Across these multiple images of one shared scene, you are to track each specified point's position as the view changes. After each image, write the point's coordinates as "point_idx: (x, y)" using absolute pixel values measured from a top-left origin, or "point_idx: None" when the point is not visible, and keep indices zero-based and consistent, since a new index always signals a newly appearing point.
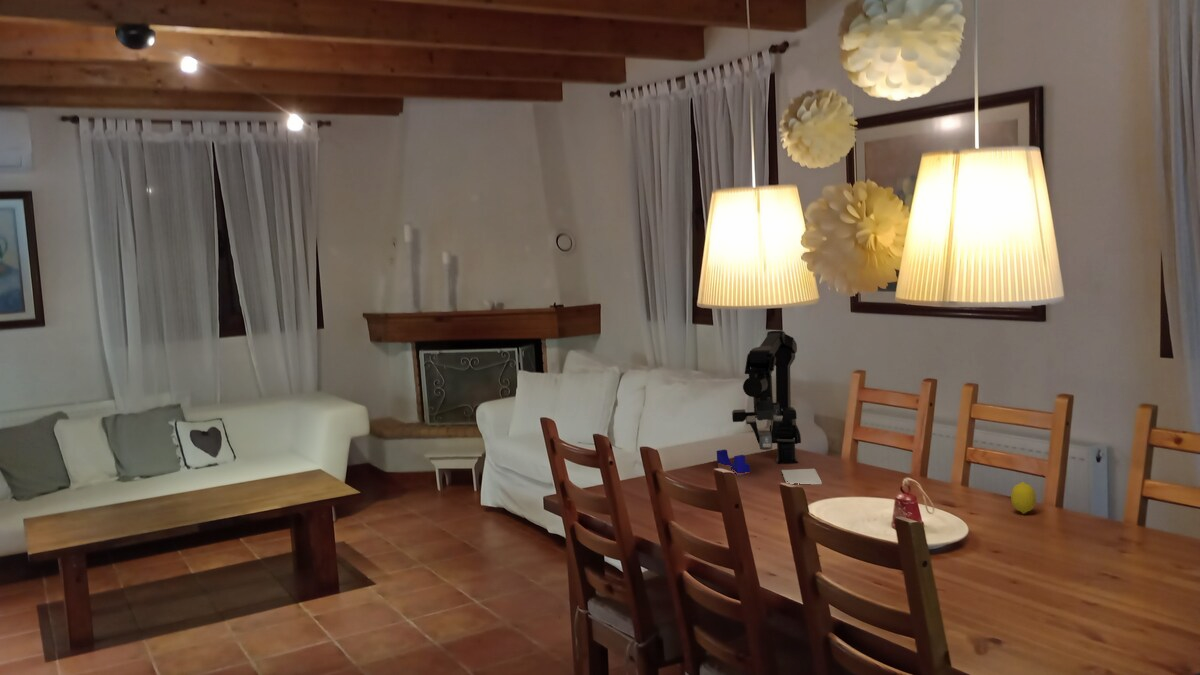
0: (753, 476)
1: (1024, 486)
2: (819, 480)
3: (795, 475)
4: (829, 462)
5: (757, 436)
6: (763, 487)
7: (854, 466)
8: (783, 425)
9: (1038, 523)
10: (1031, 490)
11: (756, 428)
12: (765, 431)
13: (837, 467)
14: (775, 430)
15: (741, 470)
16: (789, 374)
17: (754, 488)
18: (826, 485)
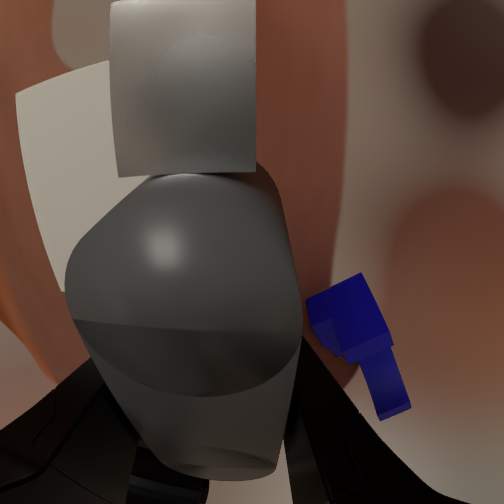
0: (299, 249)
1: None
2: (20, 107)
3: (103, 195)
4: (63, 361)
5: (310, 380)
6: (267, 25)
7: (2, 310)
8: (146, 493)
9: None
10: None
11: (344, 487)
12: (201, 463)
13: (28, 312)
14: (39, 407)
15: (348, 293)
16: None
17: (315, 16)
18: (12, 76)
